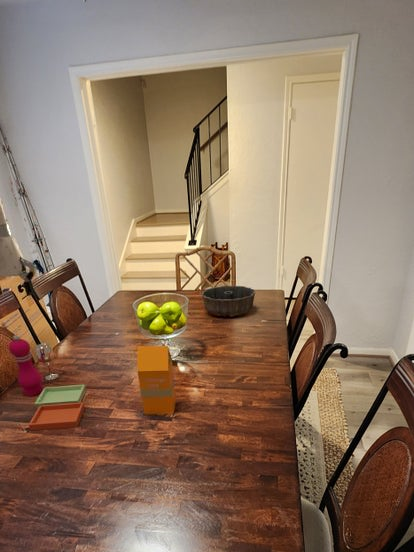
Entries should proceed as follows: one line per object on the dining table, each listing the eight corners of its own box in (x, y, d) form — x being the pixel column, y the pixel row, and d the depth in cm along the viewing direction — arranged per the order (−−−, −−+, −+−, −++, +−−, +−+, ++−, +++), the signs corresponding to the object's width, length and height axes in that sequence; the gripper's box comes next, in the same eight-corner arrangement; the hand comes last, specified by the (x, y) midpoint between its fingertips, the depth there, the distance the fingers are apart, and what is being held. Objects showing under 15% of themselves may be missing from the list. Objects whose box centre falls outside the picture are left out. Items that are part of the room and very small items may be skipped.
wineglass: (46, 382, 129) (37, 350, 123) (40, 377, 133) (31, 346, 127) (62, 376, 132) (54, 345, 126) (56, 371, 136) (47, 341, 130)
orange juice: (148, 400, 116) (139, 341, 105) (176, 400, 115) (170, 340, 105) (144, 414, 109) (134, 352, 99) (173, 414, 109) (166, 351, 98)
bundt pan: (200, 305, 196) (199, 286, 191) (249, 302, 198) (249, 283, 193) (205, 322, 174) (204, 301, 168) (260, 318, 175) (261, 297, 170)
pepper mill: (40, 384, 129) (22, 329, 118) (49, 390, 124) (31, 334, 114) (19, 391, 124) (-1, 335, 114) (27, 399, 120) (7, 341, 109)
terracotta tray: (30, 430, 105) (28, 424, 104) (41, 410, 113) (39, 405, 112) (77, 427, 105) (75, 421, 104) (85, 407, 114) (83, 402, 113)
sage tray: (36, 409, 114) (34, 403, 113) (46, 392, 123) (44, 387, 122) (79, 405, 115) (77, 400, 114) (86, 389, 124) (84, 384, 123)
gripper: (-44, 235, 99) (-21, 299, 107) (19, 233, 97) (37, 298, 106) (-27, 231, 105) (-7, 292, 114) (32, 229, 104) (48, 290, 113)
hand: (14, 295), depth 110 cm, fingers open, 9 cm apart
